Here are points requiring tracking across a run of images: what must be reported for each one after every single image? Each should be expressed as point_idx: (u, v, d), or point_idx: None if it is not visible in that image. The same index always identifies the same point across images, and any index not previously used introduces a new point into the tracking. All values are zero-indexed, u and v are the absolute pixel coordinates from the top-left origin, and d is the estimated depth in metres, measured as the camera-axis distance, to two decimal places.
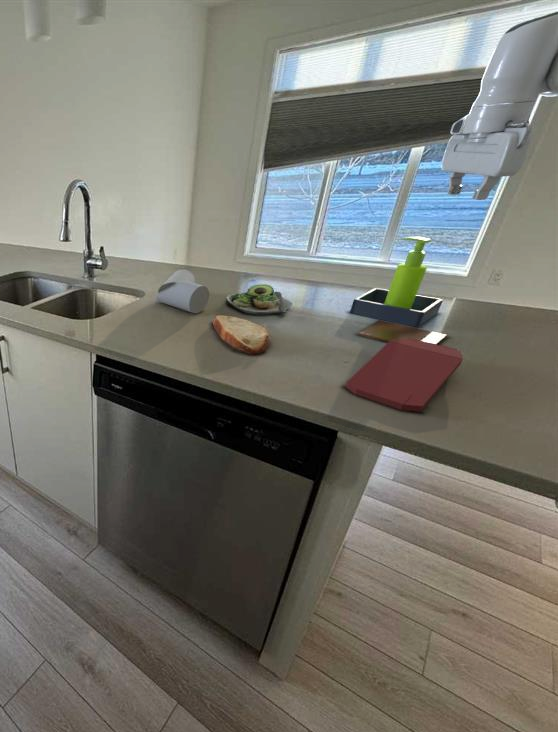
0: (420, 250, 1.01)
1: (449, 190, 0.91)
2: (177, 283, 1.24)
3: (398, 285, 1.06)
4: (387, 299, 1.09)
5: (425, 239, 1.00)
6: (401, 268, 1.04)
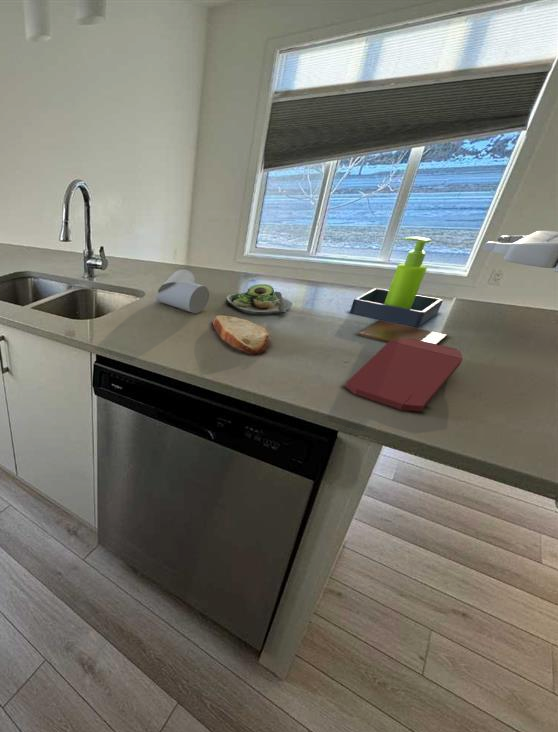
0: (420, 250, 1.01)
1: None
2: (177, 283, 1.24)
3: (398, 285, 1.06)
4: (387, 299, 1.09)
5: (425, 239, 1.00)
6: (401, 268, 1.04)
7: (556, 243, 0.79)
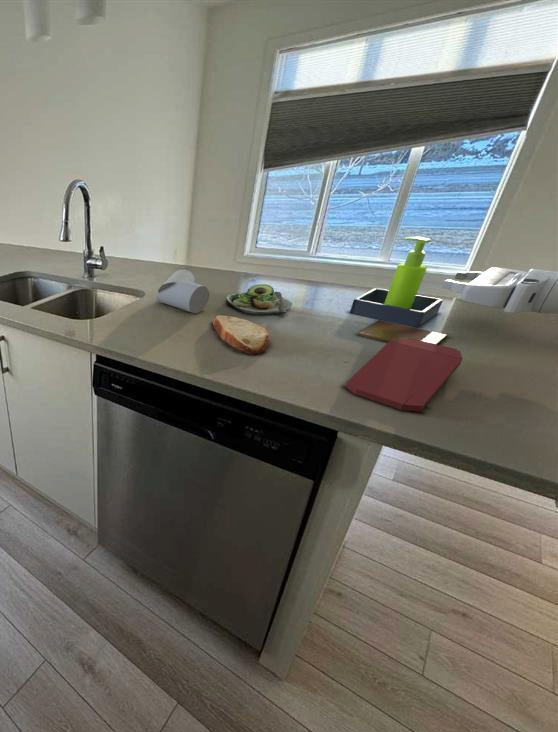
0: (420, 250, 1.01)
1: None
2: (177, 283, 1.24)
3: (398, 285, 1.06)
4: (387, 299, 1.09)
5: (425, 239, 1.00)
6: (401, 268, 1.04)
7: (505, 287, 0.86)
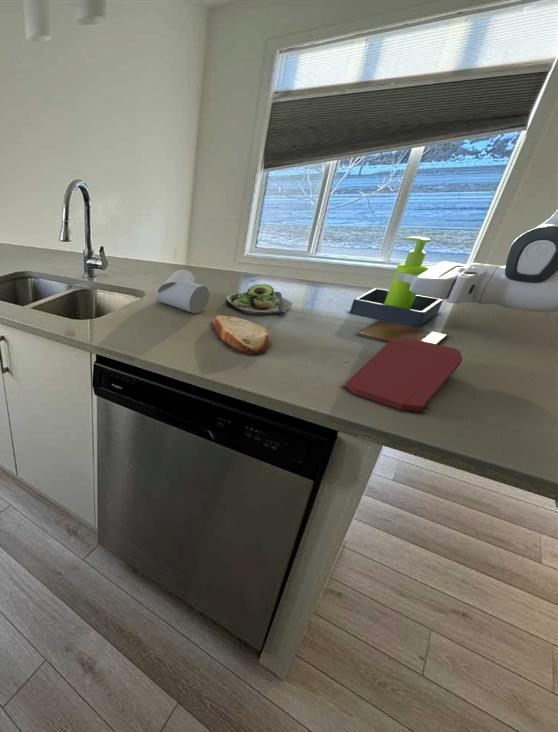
0: (420, 250, 1.01)
1: None
2: (177, 283, 1.24)
3: (398, 285, 1.06)
4: (387, 299, 1.09)
5: (425, 239, 1.00)
6: (401, 268, 1.04)
7: (447, 279, 0.93)
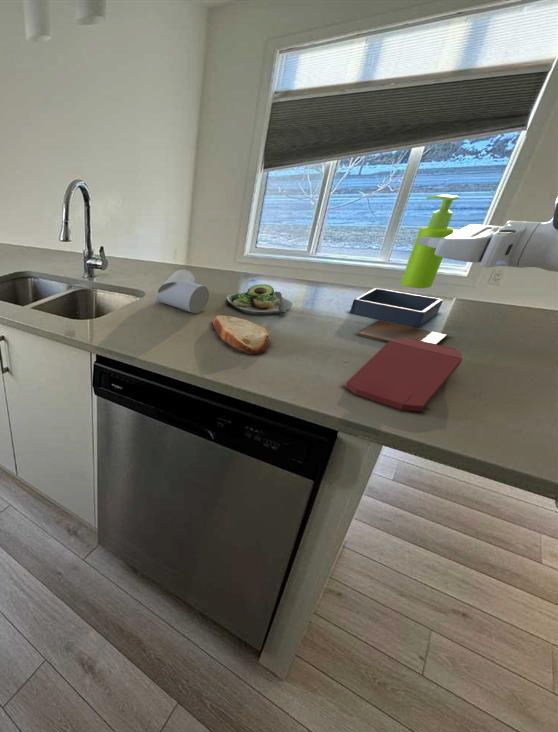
0: (446, 209, 0.89)
1: (422, 244, 0.92)
2: (177, 283, 1.24)
3: (421, 251, 0.94)
4: (407, 268, 0.97)
5: (452, 196, 0.88)
6: (424, 231, 0.92)
7: (480, 238, 0.81)
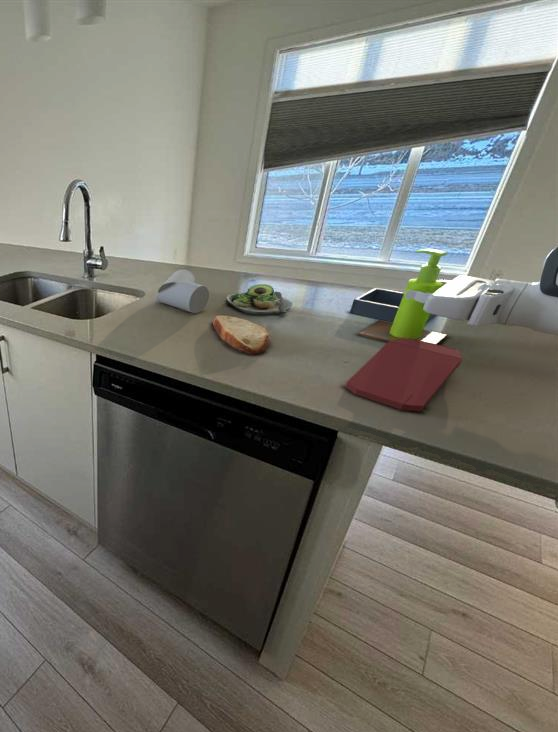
0: (435, 264, 0.89)
1: None
2: (177, 283, 1.24)
3: (409, 303, 0.93)
4: (396, 318, 0.97)
5: (441, 252, 0.88)
6: (412, 284, 0.92)
7: (468, 298, 0.81)
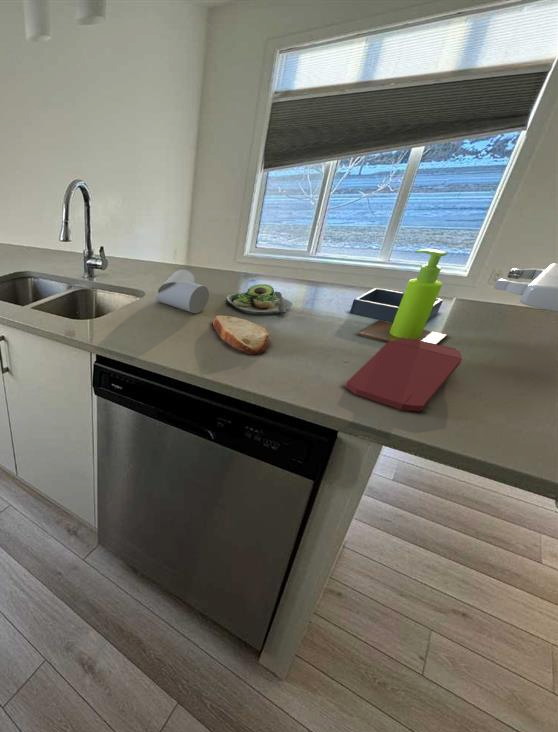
0: (435, 264, 0.89)
1: None
2: (177, 283, 1.24)
3: (409, 303, 0.93)
4: (396, 318, 0.97)
5: (441, 252, 0.88)
6: (412, 284, 0.92)
7: None
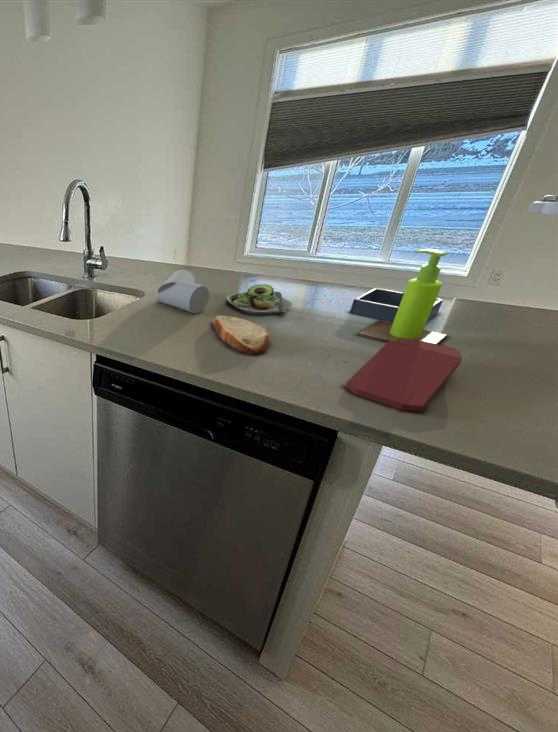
0: (435, 264, 0.89)
1: None
2: (177, 283, 1.24)
3: (409, 303, 0.93)
4: (396, 318, 0.97)
5: (441, 252, 0.88)
6: (412, 284, 0.92)
7: None
